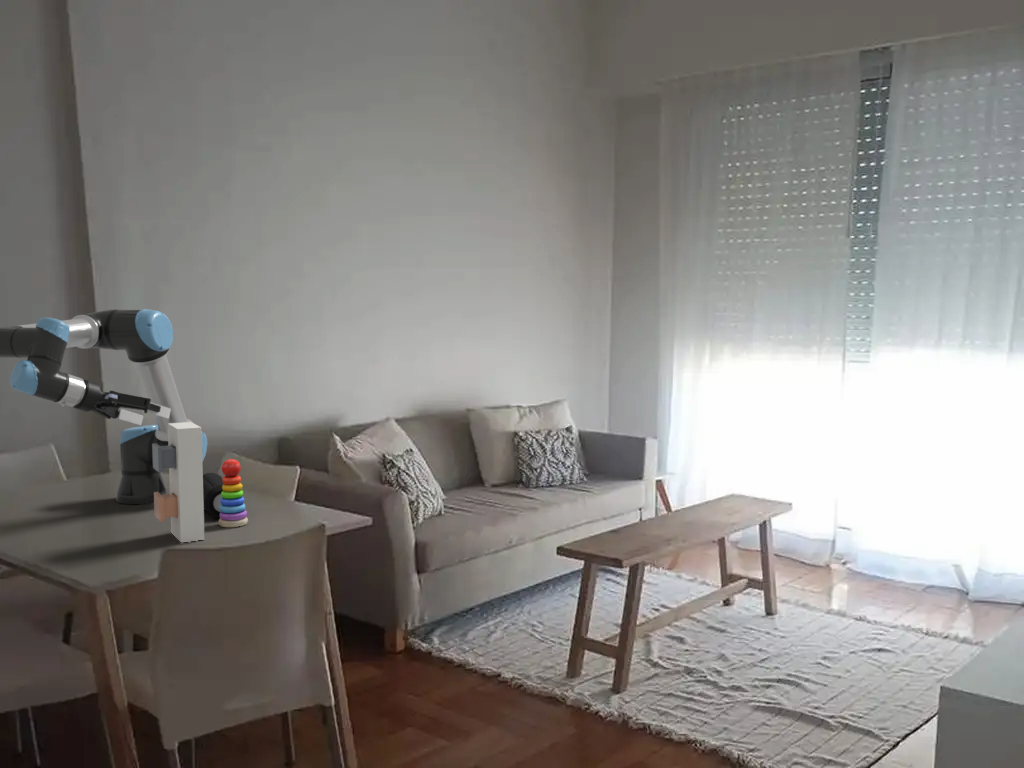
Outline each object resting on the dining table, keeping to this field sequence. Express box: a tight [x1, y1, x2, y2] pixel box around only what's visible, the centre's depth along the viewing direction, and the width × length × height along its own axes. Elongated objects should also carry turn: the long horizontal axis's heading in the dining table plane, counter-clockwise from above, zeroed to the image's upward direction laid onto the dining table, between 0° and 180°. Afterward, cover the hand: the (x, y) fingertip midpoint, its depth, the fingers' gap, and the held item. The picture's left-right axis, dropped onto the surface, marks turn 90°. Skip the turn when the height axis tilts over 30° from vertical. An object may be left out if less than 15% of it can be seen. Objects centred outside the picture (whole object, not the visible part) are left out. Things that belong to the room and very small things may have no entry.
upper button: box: [152, 443, 177, 473], centre depth 243 cm, size 8×7×6 cm
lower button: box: [153, 492, 178, 523], centre depth 244 cm, size 8×7×6 cm
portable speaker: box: [203, 472, 224, 520], centre depth 276 cm, size 26×10×10 cm, turn 28°
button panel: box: [168, 421, 205, 543], centre depth 245 cm, size 12×6×30 cm, turn 32°
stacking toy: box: [218, 458, 249, 528], centre depth 259 cm, size 8×8×19 cm
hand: (155, 417), depth 245 cm, fingers open, 13 cm apart
